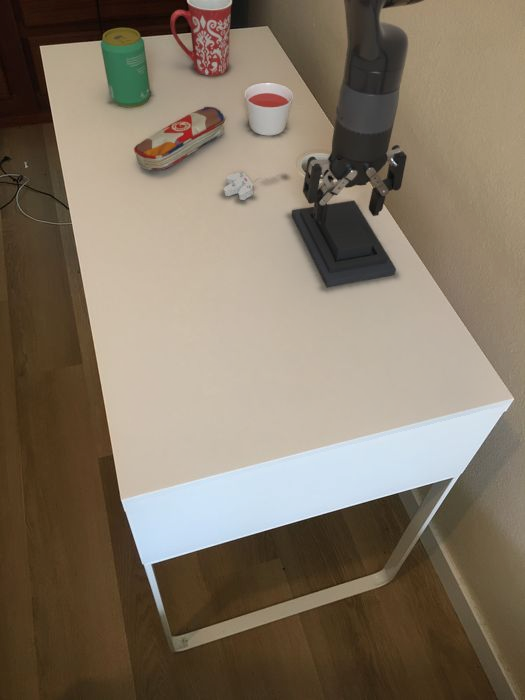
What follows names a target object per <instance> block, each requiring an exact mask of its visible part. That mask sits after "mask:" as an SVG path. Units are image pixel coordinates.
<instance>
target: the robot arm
mask: <svg viewBox="0 0 525 700" xmlns="http://www.w3.org/2000/svg"><path fill="white" fill-rule="evenodd" d="M423 1H425V0H343V3H344V12H345V24H346V25H345V26H346V39H347V49H346V53H345V55H346V56H345V63H344V69H343V75H342V76H343V77H342V82H341V85H340V89H339V93H338V97H337V105H336V107H335V119H334V125H333V126H334V127H333V134H332V141H331V152H330V154H329V156H328V158H327V159H317V158H316V157H315V156H310V157H309V158H308V159H307V163H306V168H305V176H304V181H303V185H302V193H303V196H304V197H305V199H306V201H307V203H308V204H313V207H314V209H313V215H314V217H315V219H316V221H317V222H319V224H320V225H321V224H325V222H326V215H327V208H328V203H329V202H330V201H331V199H332V198H333V197H334V196H338V195H339V194H340V193H341V192H342V191H343V189H348V188H352V187H355V186H367V184H368V183H369V182H372V184H373V186H374V187H372V189H371V193H370V197H369V203H368V210H369V212H370V213H371V215H372V216H373V217H377V216H379V214H380V212H382V211H383V209H384V204H385V200H386V196H388V194H389V193H390V191H391V192H392V191H394V192H395V191H399V190H401V187H402V183H403V178H404V172H405V169H406V162H407V158H408V157H407V154H406V153H405V152H404V150H403V149H402V148H401V147H400V145H398V144H395V145H393V146H392V147H391V149H390V150H389V146H390V142H391V137H392V133H393V129H394V124H395V118H396V115H397V110H398V107H399V101H400V100H399V99H400V89H401V83H402V79H403V74H404V69H405V65H406V60H407V56H408V51H409V37H408V35H407V33H406V32H405V30H404V29H402V28H401V27H400V26H398V25H395V24H393V23H389V22H384V21H381V19H380V18H381V12H382V10H383V9H389V8H390V9H391V8H396V7H398V8H399V7H405V6H411V5H415V4H419V3H421V2H423ZM387 163H388V167H387V174H386V178H383V179H382V178H381V176H380V175H379V174H378V173H379V172H380V171H381V170H382V169H383V167H384V166H385V165H386V164H387ZM327 170H328V171H327ZM326 171H327V172H326ZM325 172H326V174H325ZM321 179H322V181H321ZM334 179H335V180H336V182H334V181H335V180H334ZM320 181H321V183H320Z"/></svg>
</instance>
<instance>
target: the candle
mask: <svg viewBox="0 0 525 700" xmlns="http://www.w3.org/2000/svg"><path fill="white" fill-rule="evenodd" d="M293 99H294V94H293V92H292V90H291V89H290V88H288V87H287V86H284V85H283V84H278V83H275V82H261V83H255V84H253V85H250V86H249V87H248V88H246V89H245V91H244V100H245V107H246V112H247V120H248V124H249V128H250V129H251V131H253V132H254V133H256V134H258V135H262V136H276V135H280V134H281V133H282V132H284V131H285V129H286V126H287V122H288V119H289V115H290V112H291V108H292V103H293Z"/></svg>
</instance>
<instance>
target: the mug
mask: <svg viewBox="0 0 525 700" xmlns="http://www.w3.org/2000/svg"><path fill="white" fill-rule="evenodd" d="M186 3H187V4H188V5H187V6H188V10H185V9H176V10H175V11H174V12H173V13H172V14H171V16H170V20H169V21H170V31H171V33H172V35H173V38H174V40H175V41H176V43H177V44H178V45H179V47H180V48H181V49H182V51H183V52H184V53H185V54H186V55H187V57H188V58H190V60H192V61H193V67H194V70H195V71H196V72H197V73H199V74H201V75H204V76H209V77H211V76H212V77H213V76H220V75H223V74H224V73H226V72H227V71H228V69H229V53H230V34H231V33H230V32H231V17H232V16H231V14H232V4H233V0H186ZM179 17H184V18H185V19H186V22H187V24H188V26H189V27H190V34H191V46H192V50H190V49H189V48H188V47H187V46H186V45H185V44H184V43H183V42H182V40H181V39H180V37H179V36H178V33H177V30H176V22H177V20H178V18H179Z"/></svg>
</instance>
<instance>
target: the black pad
mask: <svg viewBox="0 0 525 700" xmlns="http://www.w3.org/2000/svg"><path fill="white" fill-rule="evenodd" d="M315 222H316V224H317V226H318V228H319V230H320V232H321V234H322V236H323V238H324V240H325V242H326V244H327V245H328V247H329V249H330V251H331V253H332V255H333V257H334V259H335V261H336V262H337V261H342V260H348V259H354V258H359V257H365V256H370V254H371V250H372V246H373V244H372V242H371V240H370V239H369V237H368V235H367V234H366V232H365V230H364V229H363V227H362V225H361V224H360V222H359V220H358V218H357V217H356V215H355V213H354V212H353V210H352V208H351V207H350V205H349V204H342V205H335V206H329V207H328V208H327V215H326V222H325V224H321V225H320V224H319V222H317V221H316V219H315Z"/></svg>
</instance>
